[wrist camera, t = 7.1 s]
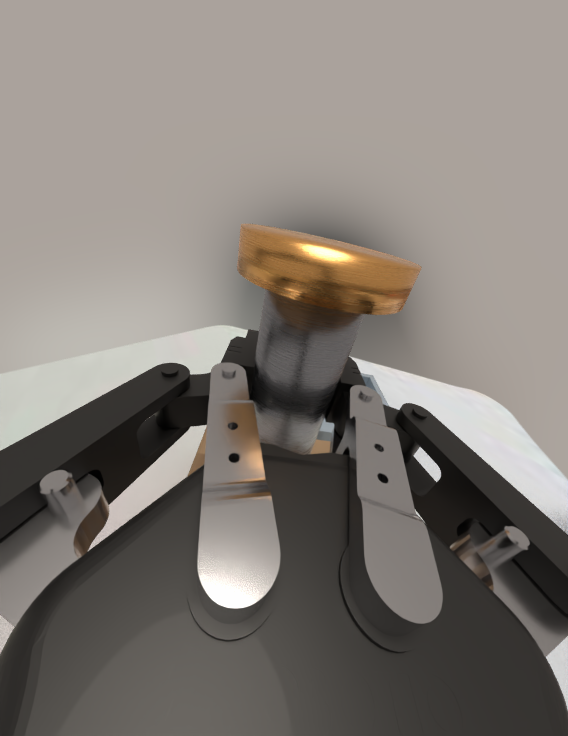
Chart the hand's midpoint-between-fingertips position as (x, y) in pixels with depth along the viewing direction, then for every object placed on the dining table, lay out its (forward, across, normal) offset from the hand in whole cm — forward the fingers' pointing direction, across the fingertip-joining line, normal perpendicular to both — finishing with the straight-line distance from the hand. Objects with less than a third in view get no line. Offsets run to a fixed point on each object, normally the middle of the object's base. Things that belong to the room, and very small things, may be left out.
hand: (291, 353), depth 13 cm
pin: (-3, 0, +8) cm, 8 cm away
